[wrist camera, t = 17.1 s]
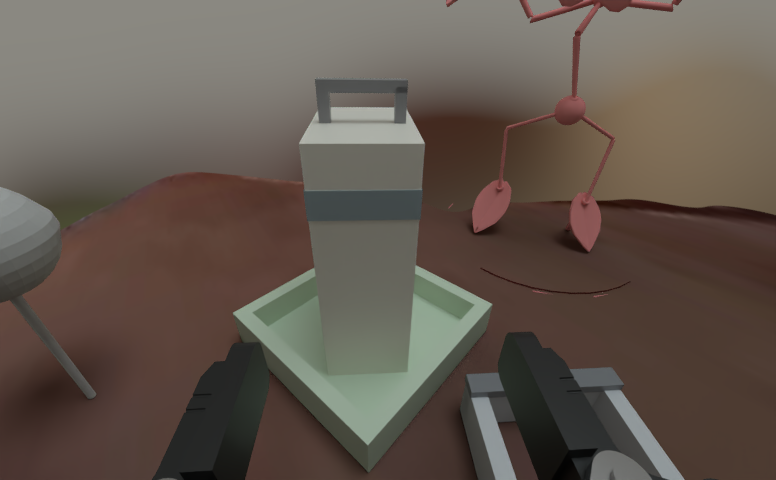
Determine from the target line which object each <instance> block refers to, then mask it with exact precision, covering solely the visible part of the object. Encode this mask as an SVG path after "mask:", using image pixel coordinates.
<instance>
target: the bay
mask: <svg viewBox="0 0 776 480" xmlns="http://www.w3.org/2000/svg"><path fill="white" fill-rule="evenodd" d="M570 371H571V373H572V374H573V376H574V380H576V381H577V383H578V384H579V386H580V388H581V389H582V393H584V394H585V396H586V398H587V399H588V401H589V403H590V404H591V406H592V408H593V409H594V411H595V413H596V414H597V416H598V418H599V419H600V421H601V423H602V424H603V426H604V428H605V429H606V431H607V433H608V434H609V436H610V438H611V439H612V441H613V443H614V444H615V446H616V447H617V448H618V450H619V451H620V452H621V453H622V454H624V455H626V456H628V457H630V458H631V459H633V460H634V461H635V462H637V463H638V464H639V465H640V466H641V467H642V468H643V469H644V470H645V471H646V472H647V473H650V474H652V475H655V476H658V477H661V478H665V479H668V480H684V478H683V477H682V476H681V474H680V473H679V471H678V470H677V469H676V467H675V466H674V464H673V463H672V462H671V460H670V459H669V457H668V456H667V455H666V453H665V452H664V450H663V449H662V448H661V446H660V445H659V444H658V442H657V441H656V439H655V438H654V437H653V435H652V434H651V432H650V431H649V430H648V428H647V427H646V425H645V424H644V423H643V421H642V420H641V418H640V417H639V416H638V414H637V413H636V411H635V410H634V409H633V407H632V406H631V404H630V403H629V402H628V400H627V399H626V397H625V396H624V395H623V393H622V392H621V389H622V387H623V386H624V384H623V382H622V381H621V380H620V378H619V377H618V376H617V374H616V373H615V372H614V370H613V369H612V368H611V367H609V368H588V369H570ZM465 382H466V385H465V389H464V393H463V398H462V402H461V406H460V412H461V415H462V419H463V423H464V427H465V431H466V435H467V439H468V443H469V446H470V450H471V454H472V458H473V462H474V466H475V470H476V474H477V478H478V480H517V479H516V476H515V474H514V471H513V468H512V465H511V462H510V459H509V456H508V453H507V450H506V447H505V444H504V442H503V439H502V436H501V433H500V430H499V427H498V424H497V422H511V421H516V420H515V417H514V415H513V412H512V409H511V407H510V404H509V402H508V399H507V396H506V394H505V391H504V389H503V386H502V383H501V381H500V377H499V373H484V374H466V378H465Z"/></svg>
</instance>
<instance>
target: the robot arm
mask: <svg viewBox="0 0 776 480" xmlns="http://www.w3.org/2000/svg"><path fill="white" fill-rule="evenodd" d="M498 372H499V377H500V381H501V383H502V386H503V389H504V391H505V394H506V396H507V399H508V402H509V404H510V407H511V409H512V412H513V415H514V417H515V420H516V422H517V425H518V427H519V430H520V433H521V435H522V438H523V440H524V443H525V446H526V448H527V451H528V453H529V456H530V458H531V461H532V464H533V466H534V469H535V471H536V474H537V477H538V479H539V480H668V479H665V478H661V477H658V476H655V475H652V474H650V473H647V472H646V471H645V470H644V469H643V468H642V467H641V466H640V465H639V464H638V463H637V462H635V461H634V460H633V459H631V458H630V457H628V456H626V455H624V454H622V453H621V452H620V451H619V450H618V448H617V447H616V446H615V444H614V443H613V441H612V439H611V438H610V436H609V434H608V433H607V431H606V429H605V428H604V426H603V424H602V423H601V421H600V419H599V418H598V416H597V414H596V413H595V411H594V409H593V408H592V406H591V404H590V403H589V401H588V399H587V398H586V396H585V394H584V393H582V389H581V388H580V386H579V384H578V383H577V381H576V380H574V376H573V374H572V373H571V371H570V369H569V368H568V366H567V364H566V363H565V361H564V360H563V359H562V358H561V357H559V356H558V355H557V354H556V353H555V352H554V351H553V350H552V349H551V348H542V346H541V345H540V343H539V341H538V339H537V337H536V336H535V335H534V333H532V332H513V333H507V335H506V338H505V341H504V344H503V348H502V351H501V355H500V358H499V362H498ZM268 389H269V370H268V366H267V363H266V360H265V356H264V353H263V349H262V346H261V343H260V342H246V343H234V344H233V345H232V347H231V348H230V351H229V353H228V356H227V358H226V360H225V361H220V362H214V363H213V364H212V366H211V367H210V368H209V369H208V370H207V371H206V372H205V373H204V374H203V375H202V376H201V378H200V380H199V382H198V385H197V387H196V389H195V391H194V393H193V398H191V400H190V402H189V404H188V406H187V408H186V413H184V415H183V417H182V419H181V421H180V423H179V425H178V428H177V430H176V432H175V434H174V436H173V438H172V440H171V443H170V445H169V447H168V449H167V451H166V453H165V456H164V458H163V460H162V462H161V464H160V466H159V468H158V470H157V472H156V474H155V476H154V477H153V479H152V480H245V477H246V473H247V469H248V466H249V462H250V458H251V454H252V450H253V447H254V443H255V439H256V435H257V431H258V428H259V424H260V420H261V416H262V412H263V409H264V405H265V401H266V397H267V393H268ZM704 480H717V479H704Z"/></svg>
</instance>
